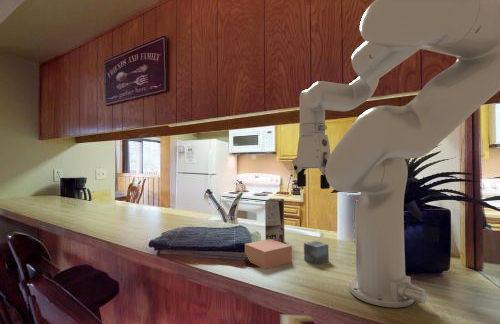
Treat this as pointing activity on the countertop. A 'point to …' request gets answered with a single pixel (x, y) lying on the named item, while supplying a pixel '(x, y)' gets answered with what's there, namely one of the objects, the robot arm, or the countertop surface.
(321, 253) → the slate cube
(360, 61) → the robot arm
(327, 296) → the countertop surface
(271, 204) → the coffee box
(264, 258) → the terracotta block
